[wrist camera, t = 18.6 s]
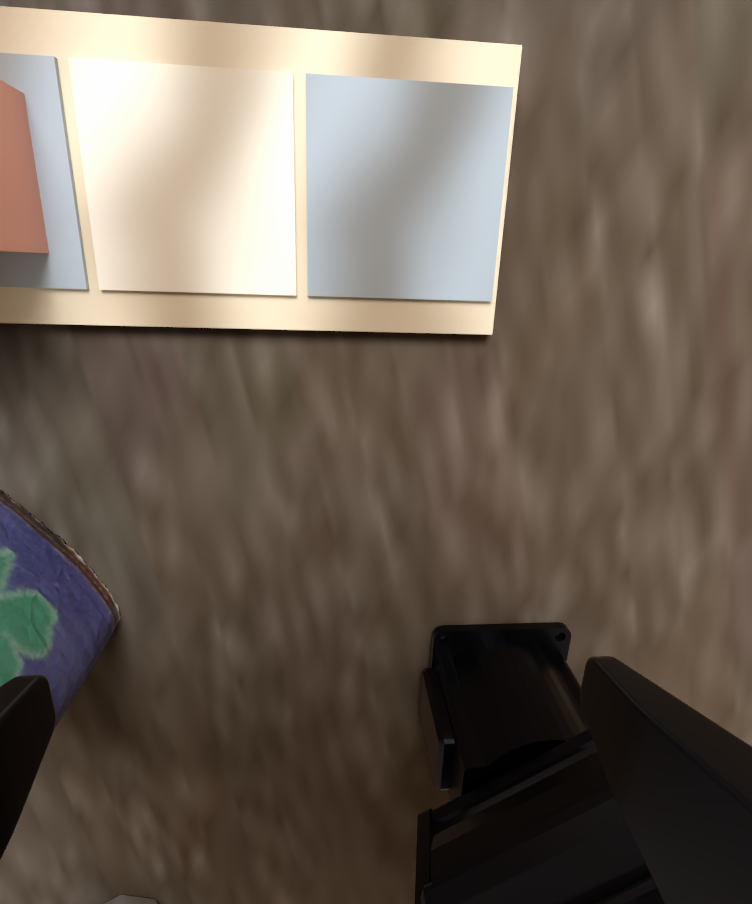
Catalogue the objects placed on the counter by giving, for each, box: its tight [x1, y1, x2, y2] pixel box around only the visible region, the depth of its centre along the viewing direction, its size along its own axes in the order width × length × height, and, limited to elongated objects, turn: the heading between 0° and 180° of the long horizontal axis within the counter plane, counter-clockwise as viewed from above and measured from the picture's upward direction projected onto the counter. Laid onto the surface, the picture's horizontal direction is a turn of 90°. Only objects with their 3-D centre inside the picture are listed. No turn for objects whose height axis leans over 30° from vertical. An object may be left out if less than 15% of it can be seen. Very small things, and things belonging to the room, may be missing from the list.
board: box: [0, 6, 522, 335], centre depth 17 cm, size 21×9×1 cm, turn 88°
